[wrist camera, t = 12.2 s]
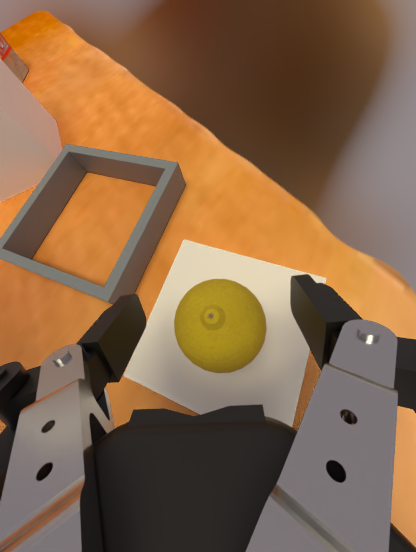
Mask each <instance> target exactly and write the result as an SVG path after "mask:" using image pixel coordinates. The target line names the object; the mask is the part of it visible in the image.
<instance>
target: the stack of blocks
mask: <svg viewBox="0 0 416 552" xmlns="http://www.w3.org/2000/svg"><path fill="white" fill-rule="evenodd" d="M0 59H1V60H2V61H3V62H4V63H5V64H6V65H7V67H8V68H9V69H10V70H11V71H12V72H13V73H14V74H15V76H16V77H17V78H18V79H19V80H20V81H21V82H23V80H24V78H25V76H26V74H27V73H28V71H29V70H28V68H27V67H26V66H25V64H24V63H23V62H22V60H21V59H20V58H19V57H18V55H17V54H16V53H15V52H14V50H13V49H12V48H11V46H10V45H9V44H8V42H7V41H6V40H5V38H4V37H3V36H2V35H1V33H0Z"/></svg>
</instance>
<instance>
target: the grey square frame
mask: <svg viewBox="0 0 416 552" xmlns="http://www.w3.org/2000/svg"><path fill="white" fill-rule="evenodd" d="M86 172H90V173H95V174H100V175H105V176H110V177H115V178H119V179H124V180H129V181H134V182H139V183H144V184H149V185H153V186H156V188H155V190H154V192H153V194H152V196H151V197H150V199H149V201H148V203H147V205H146V207H145V209H144V211H143V213H142V215H141V217H140V219H139V221H138V223H137V224H136V226H135V228H134V230H133V232H132V234H131V236H130V238H129V240H128V242H127V244H126V246H125V248H124V250H123V251H122V253H121V255H120V257H119V259H118V261H117V263H116V265H115V267H114V269H113V271H112V273H111V275H110V277H109V278H108V280H107V282H106V284H105V286H104V287H102V286H99V285H96V284H94V283H91V282H89V281H86V280H83V279H81V278H78V277H76V276H73V275H70V274H68V273H65V272H62V271H60V270H57V269H55V268H52V267H49V266H47V265H44V264H42V263H39V262H36V261H34V260H31V259H32V257H33V256H34V254H35V252H36V251H37V249H38V248H39V246H40V245H41V243H42V241H43V240H44V238H45V237H46V235H47V234H48V232H49V230H50V229H51V227H52V226H53V224H54V223H55V221H56V219H57V218H58V216H59V215H60V213H61V212H62V210H63V208H64V207H65V205H66V204H67V202H68V201H69V199H70V197H71V196H72V194H73V193H74V191H75V190H76V188H77V187H78V185H79V183H80V182H81V180H82V179H83V177H84V176H85V174H86ZM185 185H186V184H185V181H184V178H183V175H182V172H181V169H180V167H179V164H178V162H172V161H166V160H160V159H154V158H148V157H142V156H136V155H130V154H124V153H118V152H112V151H106V150H100V149H94V148H88V147H82V146H76V145H70V144H66V145H65V147H64V148H63V150H62V151H61V153H60V154H59V155H58V157H57V158H56V160H55V161H54V163H53V164H52V165H51V167H50V168H49V170H48V171H47V173H46V174H45V176H44V177H43V178H42V180H41V181H40V183H39V184H38V186H37V187H36V188H35V190H34V191H33V193H32V194H31V196H30V197H29V198H28V200H27V201H26V203H25V204H24V206H23V207H22V208H21V210H20V211H19V213H18V214H17V216H16V217H15V218H14V220H13V221H12V223H11V224H10V226H9V227H8V228H7V230H6V231H5V233H4V234H3V236H2V237H1V238H0V259H2V260H4V261H7V262H9V263H12V264H14V265H17V266H19V267H22V268H24V269H27V270H29V271H32V272H34V273H37V274H39V275H42V276H44V277H47V278H49V279H52V280H54V281H57V282H59V283H61V284H64V285H66V286H69V287H71V288H74V289H76V290H79V291H81V292H84V293H86V294H89V295H91V296H94V297H96V298H99V299H101V300H104V301H106V302H109V303H112V304H114V303H115V302H116V301H117V299H118V298H119V297H120V296H122V295H129V294H134V293H135V290H136V288H137V286H138V284H139V282H140V280H141V278H142V276H143V274H144V271H145V269H146V267H147V265H148V263H149V261H150V259H151V257H152V255H153V253H154V250H155V248H156V246H157V244H158V242H159V240H160V238H161V236H162V234H163V231H164V229H165V227H166V225H167V223H168V221H169V219H170V217H171V215H172V213H173V210H174V208H175V206H176V204H177V202H178V200H179V198H180V196H181V194H182V191H183V189H184V187H185Z"/></svg>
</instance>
